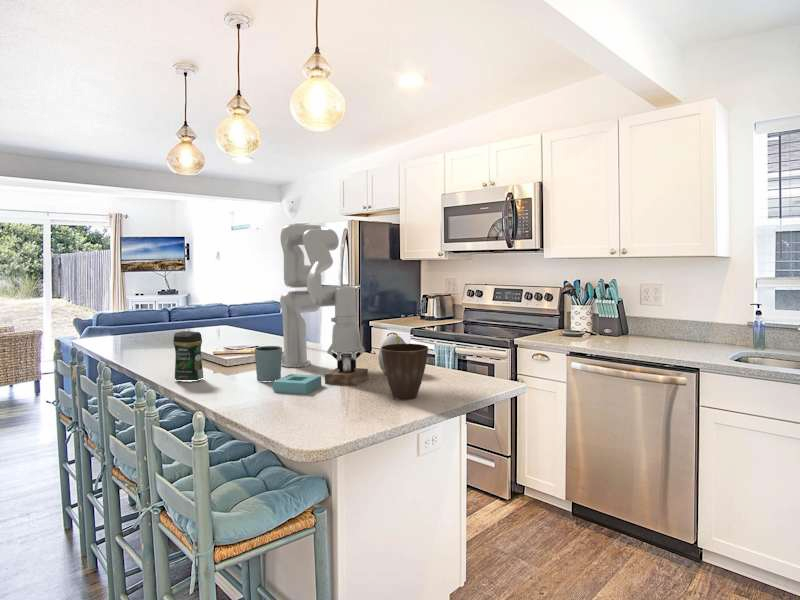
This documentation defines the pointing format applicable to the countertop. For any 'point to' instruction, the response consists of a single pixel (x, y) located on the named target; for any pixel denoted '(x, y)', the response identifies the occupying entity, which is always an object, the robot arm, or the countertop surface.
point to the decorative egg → (388, 341)
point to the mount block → (346, 377)
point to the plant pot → (404, 368)
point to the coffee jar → (188, 355)
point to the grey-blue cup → (268, 363)
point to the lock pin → (346, 362)
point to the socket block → (297, 383)
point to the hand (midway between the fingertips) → (346, 370)
